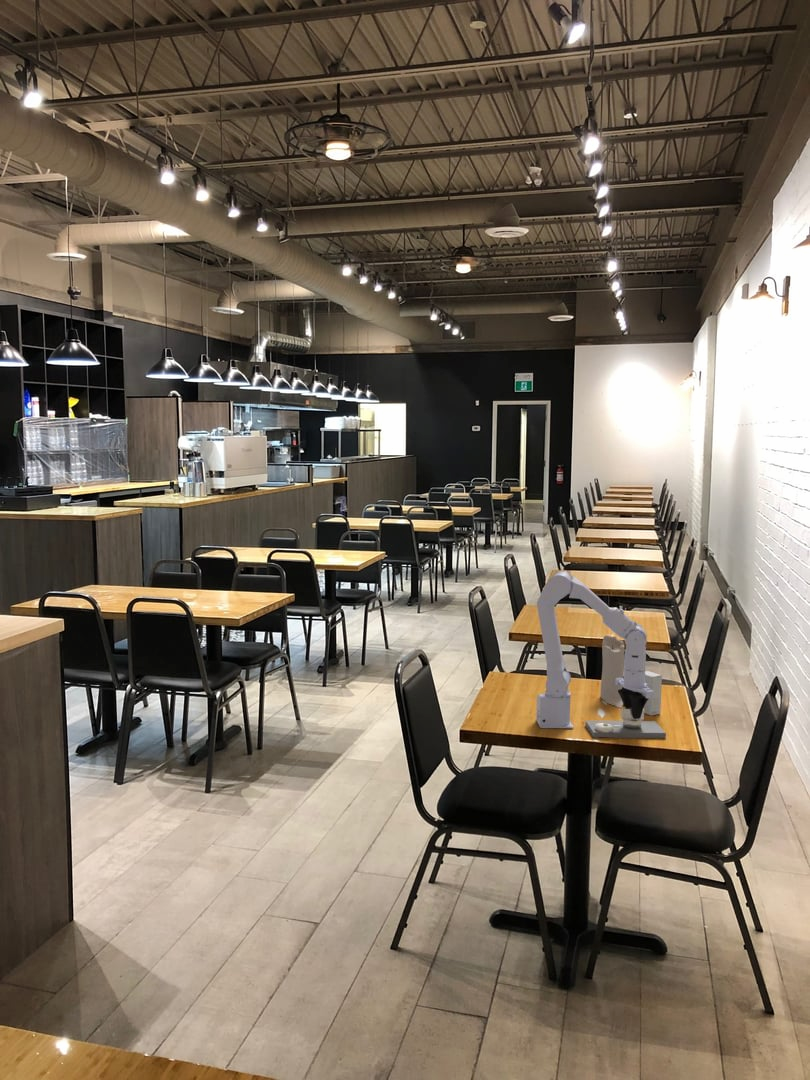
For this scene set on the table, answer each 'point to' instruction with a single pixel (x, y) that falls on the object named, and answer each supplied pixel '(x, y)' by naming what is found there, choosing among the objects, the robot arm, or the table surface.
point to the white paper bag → (612, 669)
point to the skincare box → (655, 685)
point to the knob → (630, 718)
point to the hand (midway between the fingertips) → (632, 716)
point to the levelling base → (624, 730)
